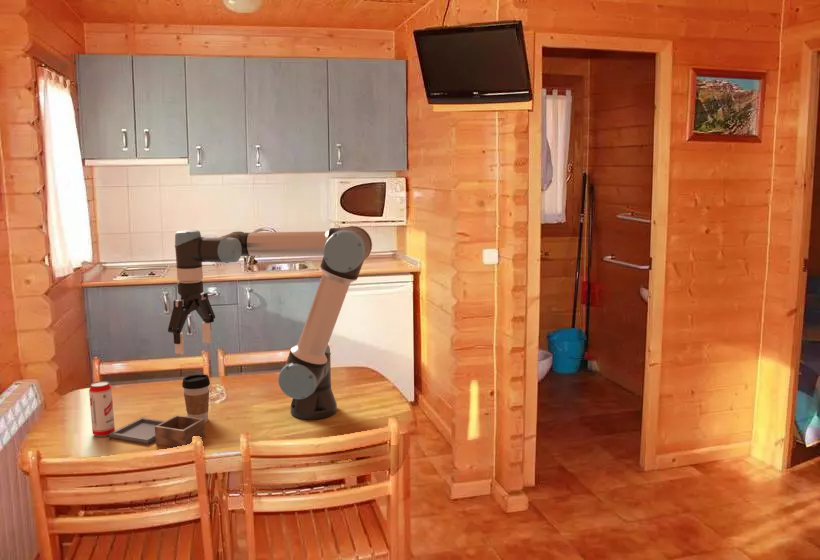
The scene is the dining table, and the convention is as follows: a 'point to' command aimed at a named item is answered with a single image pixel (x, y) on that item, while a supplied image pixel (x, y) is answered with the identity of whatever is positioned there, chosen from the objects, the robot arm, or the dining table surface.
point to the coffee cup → (196, 395)
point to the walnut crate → (179, 431)
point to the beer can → (101, 408)
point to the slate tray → (137, 431)
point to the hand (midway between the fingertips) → (193, 348)
